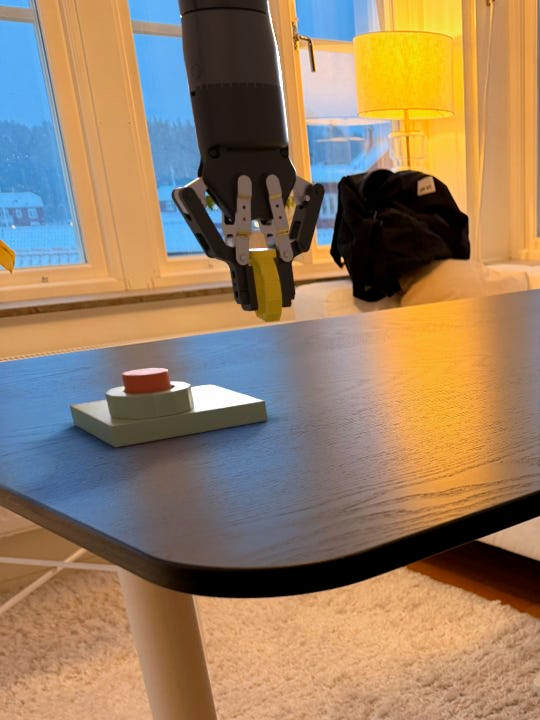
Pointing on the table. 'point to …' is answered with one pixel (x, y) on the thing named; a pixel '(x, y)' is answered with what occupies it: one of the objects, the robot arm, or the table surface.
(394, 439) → the table surface
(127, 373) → the button
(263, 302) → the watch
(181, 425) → the console
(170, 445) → the table surface
